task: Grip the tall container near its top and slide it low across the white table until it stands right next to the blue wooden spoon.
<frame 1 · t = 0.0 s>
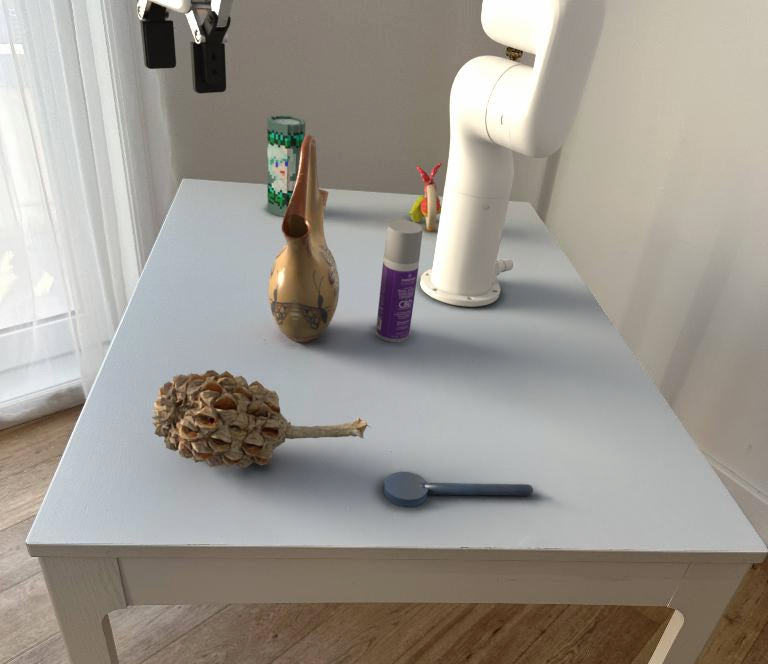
hand: (184, 79, 71), 31 cm above the table, tool pointing down, fingers open, 9 cm apart
pine cone: (264, 461, 78), on the table
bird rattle: (427, 226, 135), on the table
ceramic vessel: (302, 335, 100), on the table
container: (392, 335, 102), on the table
can: (285, 211, 134), on the table
spoon: (452, 493, 77), on the table
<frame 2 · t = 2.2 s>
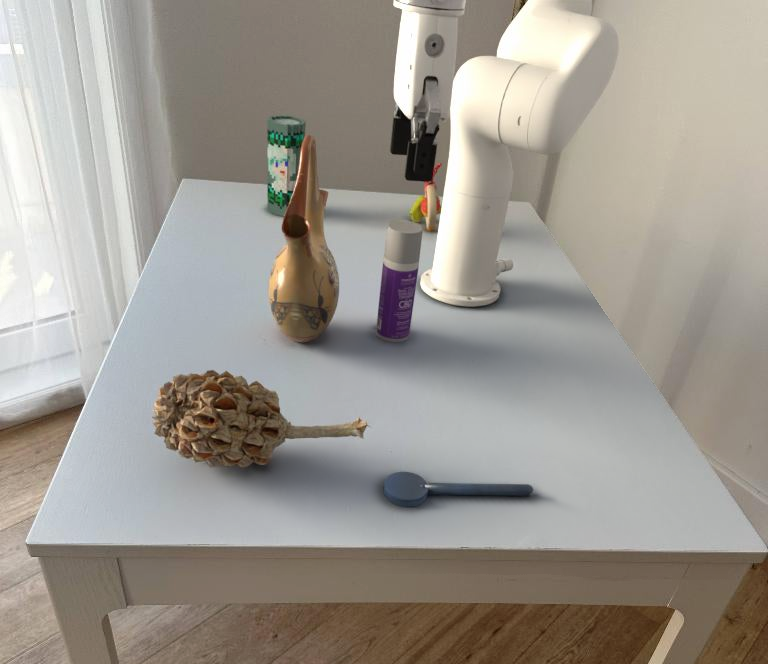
hand: (410, 166, 88), 22 cm above the table, tool pointing down, fingers open, 9 cm apart
nothing on the table moved.
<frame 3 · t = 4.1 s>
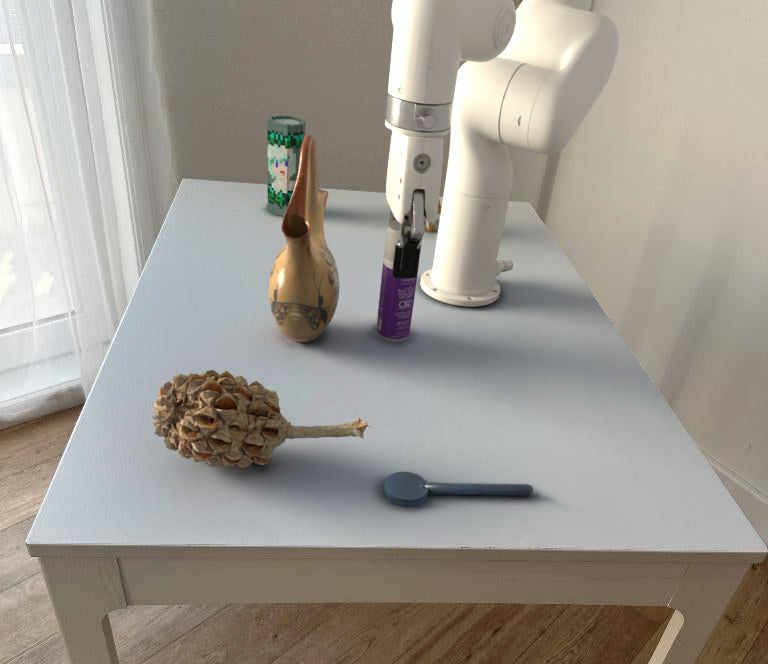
hand: (400, 266, 96), 10 cm above the table, tool pointing down, fingers closed on container, 4 cm apart
container: (392, 335, 102), on the table, touching gripper
everything else where it was.
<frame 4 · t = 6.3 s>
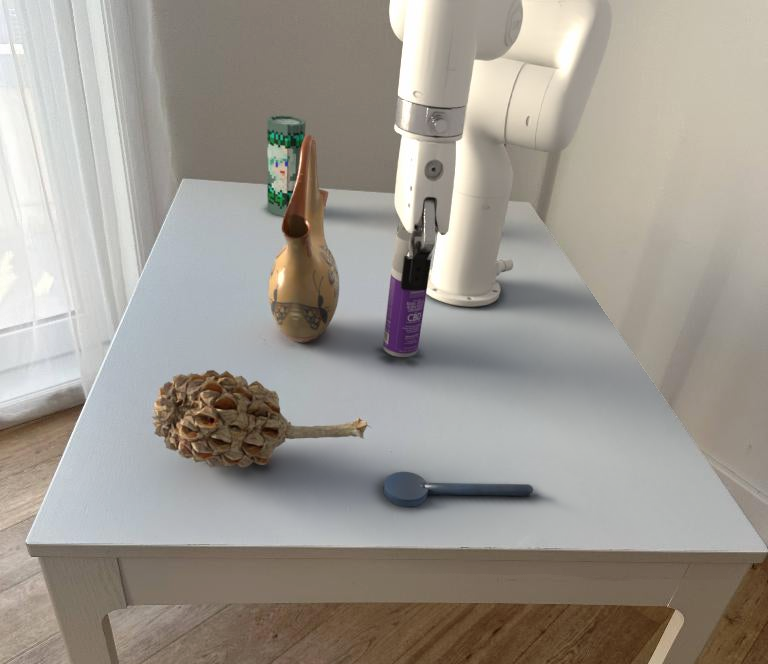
hand: (409, 277, 91), 11 cm above the table, tool pointing down, fingers closed on container, 4 cm apart
container: (400, 349, 98), point 1 cm above the table, touching gripper
everything else where it was.
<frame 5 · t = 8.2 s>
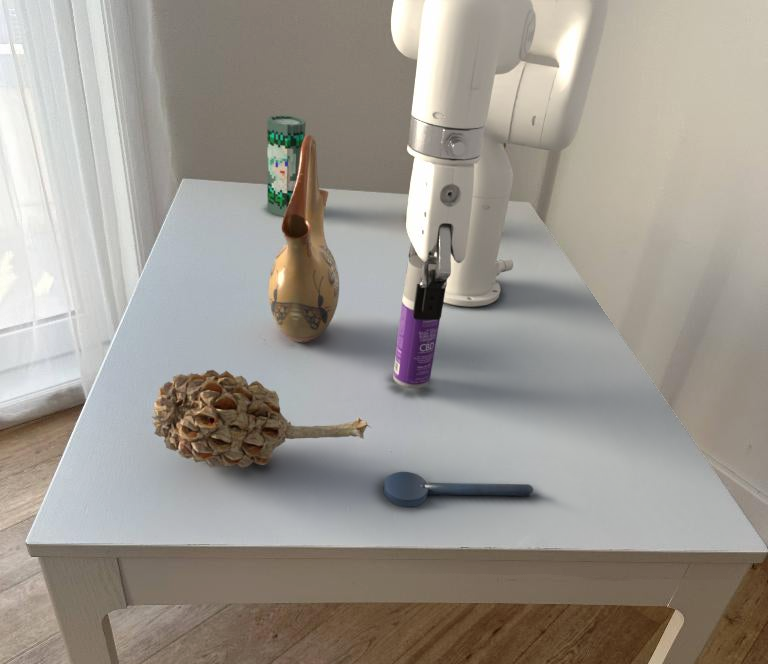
hand: (421, 305, 86), 11 cm above the table, tool pointing down, fingers closed on container, 4 cm apart
container: (411, 379, 92), point 1 cm above the table, touching gripper
everything else where it was.
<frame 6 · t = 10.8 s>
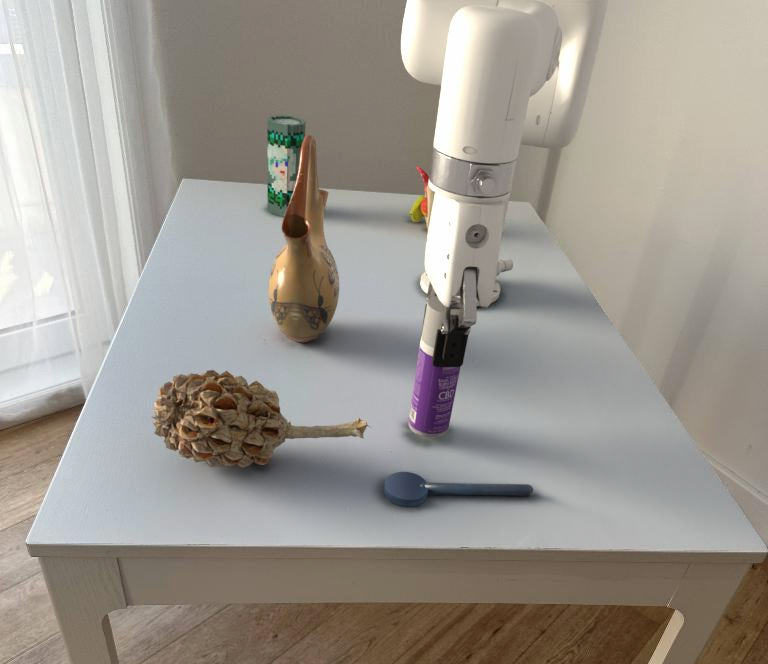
hand: (441, 350, 78), 11 cm above the table, tool pointing down, fingers closed on container, 4 cm apart
container: (428, 427, 85), point 1 cm above the table, touching gripper
everything else where it was.
when the fingers open (10 cm above the table, at t = 12.6 s): container stays where it is, on the table.
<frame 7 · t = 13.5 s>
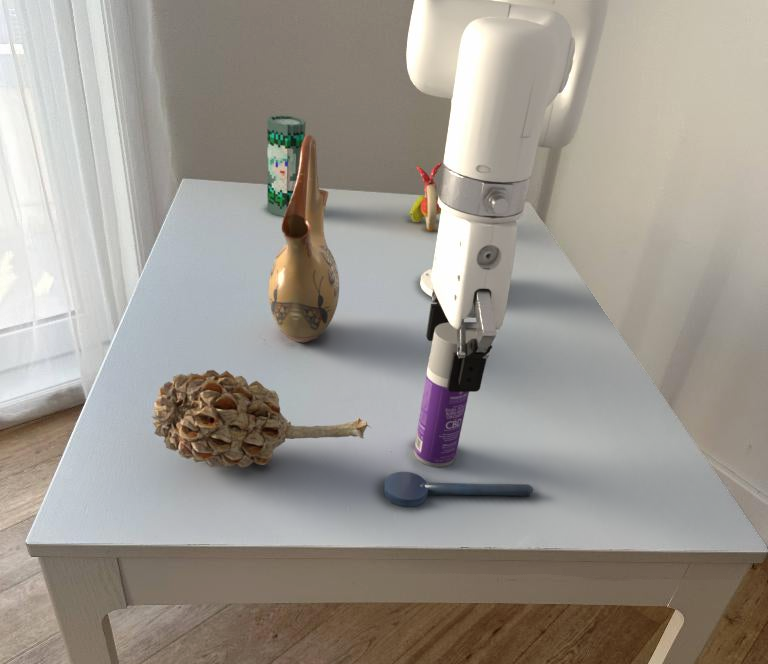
hand: (451, 363, 75), 11 cm above the table, tool pointing down, fingers open, 9 cm apart
container: (434, 455, 82), on the table
everything else where it was.
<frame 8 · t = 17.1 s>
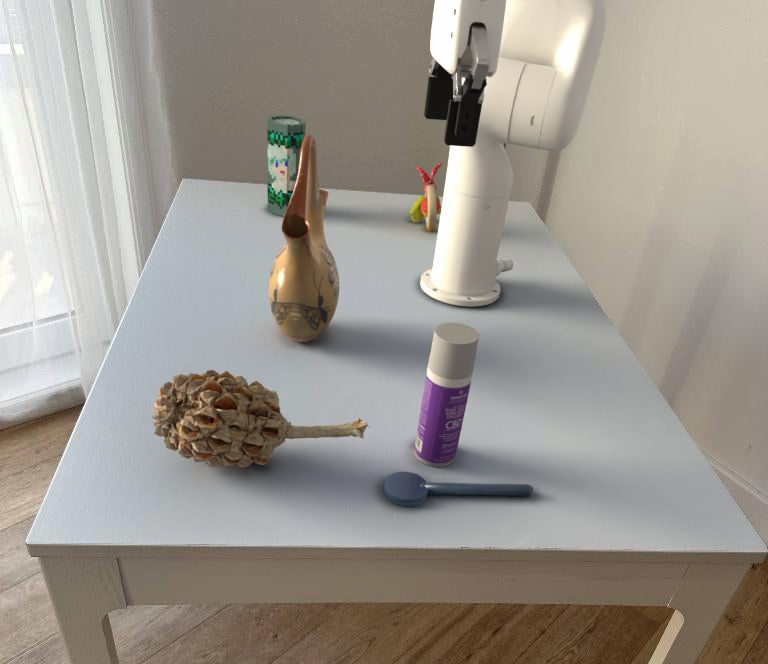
hand: (448, 131, 78), 28 cm above the table, tool pointing down, fingers open, 9 cm apart
nothing on the table moved.
at the end: container 6.8 cm from the spoon (horizontally); container moved 27.7 cm from its start; container tilted 0° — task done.
